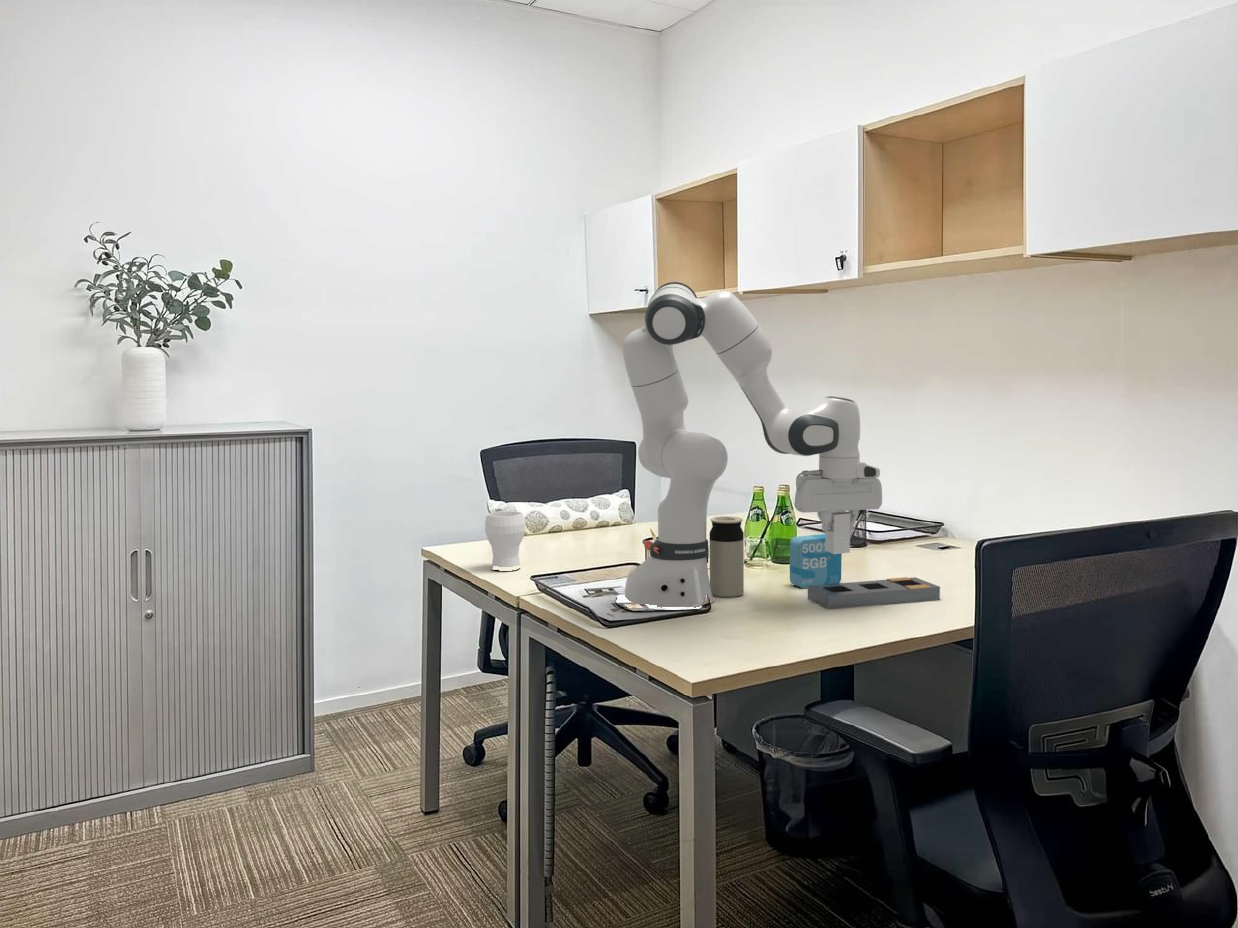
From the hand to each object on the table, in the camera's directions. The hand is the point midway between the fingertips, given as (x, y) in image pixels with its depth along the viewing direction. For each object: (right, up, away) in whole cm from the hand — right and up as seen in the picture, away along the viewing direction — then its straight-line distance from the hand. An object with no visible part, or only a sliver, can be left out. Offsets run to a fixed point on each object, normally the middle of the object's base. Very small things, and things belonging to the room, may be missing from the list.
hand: (837, 530), depth 213 cm
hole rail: (+9, -16, +4) cm, 19 cm away
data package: (-1, -15, +19) cm, 24 cm away
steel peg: (0, -5, +1) cm, 5 cm away
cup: (-80, -13, +41) cm, 91 cm away
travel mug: (-24, -16, +11) cm, 31 cm away
